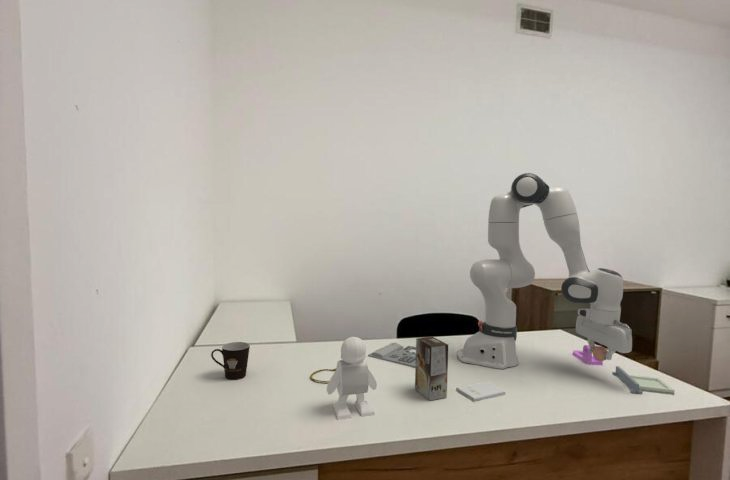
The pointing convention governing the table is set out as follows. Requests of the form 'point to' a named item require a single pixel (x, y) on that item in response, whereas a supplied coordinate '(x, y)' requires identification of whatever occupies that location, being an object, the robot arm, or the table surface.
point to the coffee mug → (234, 359)
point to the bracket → (587, 356)
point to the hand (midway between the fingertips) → (599, 355)
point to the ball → (599, 353)
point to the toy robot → (352, 378)
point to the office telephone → (396, 354)
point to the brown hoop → (319, 380)
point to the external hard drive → (480, 391)
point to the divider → (627, 380)
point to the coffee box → (431, 368)
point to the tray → (652, 384)
